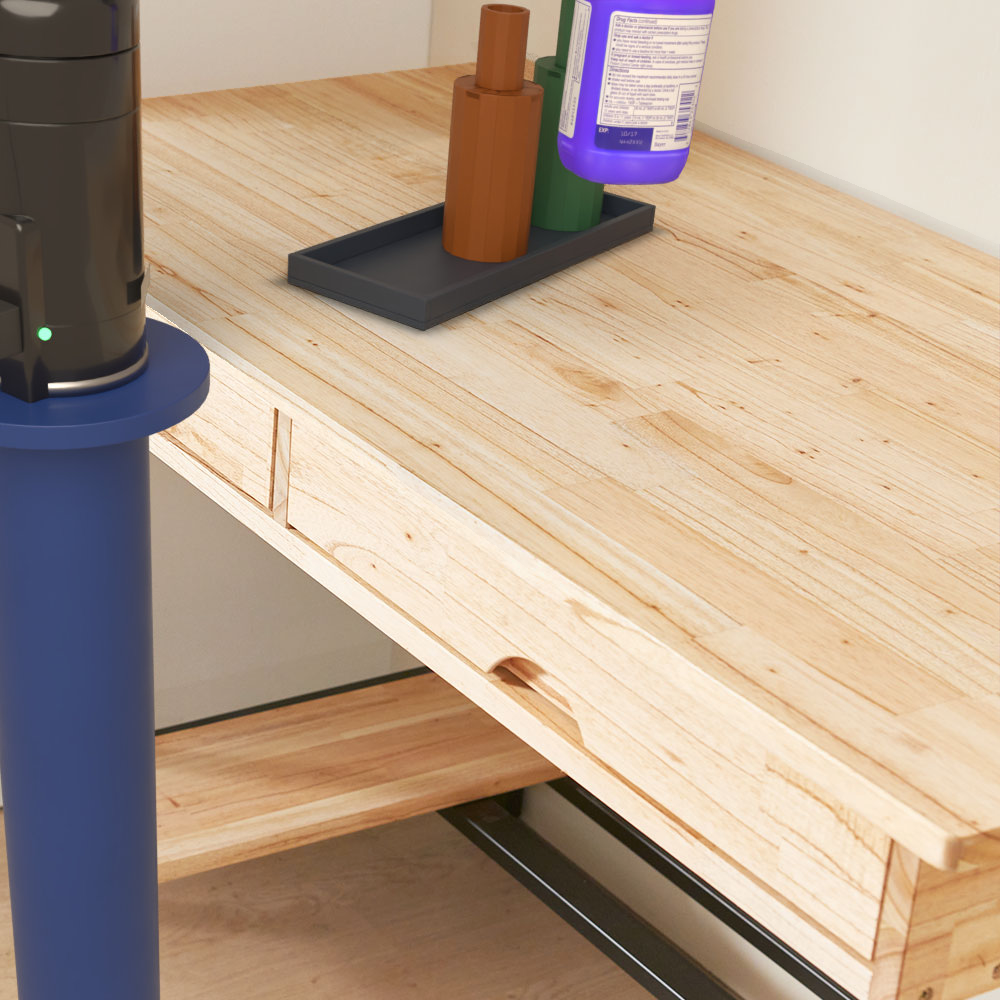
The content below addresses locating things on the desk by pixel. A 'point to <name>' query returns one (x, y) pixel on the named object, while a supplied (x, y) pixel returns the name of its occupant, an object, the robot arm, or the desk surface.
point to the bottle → (632, 88)
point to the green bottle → (556, 189)
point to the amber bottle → (493, 144)
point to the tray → (448, 263)
